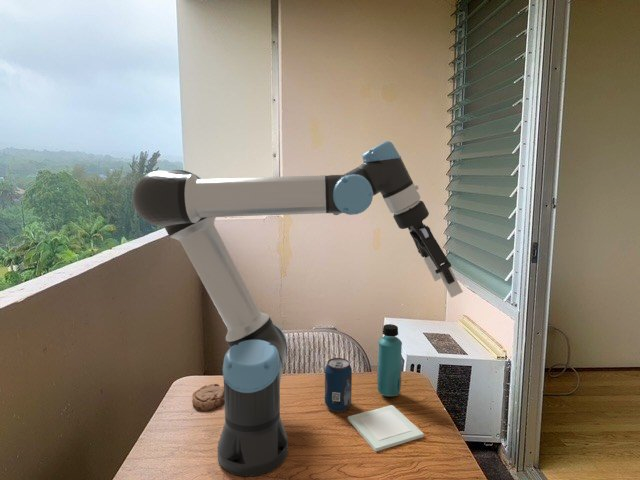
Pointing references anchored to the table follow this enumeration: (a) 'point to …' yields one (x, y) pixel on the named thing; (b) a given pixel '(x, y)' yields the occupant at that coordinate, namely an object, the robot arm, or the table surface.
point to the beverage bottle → (389, 362)
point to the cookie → (208, 397)
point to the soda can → (338, 384)
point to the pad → (385, 427)
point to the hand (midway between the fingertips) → (447, 286)
